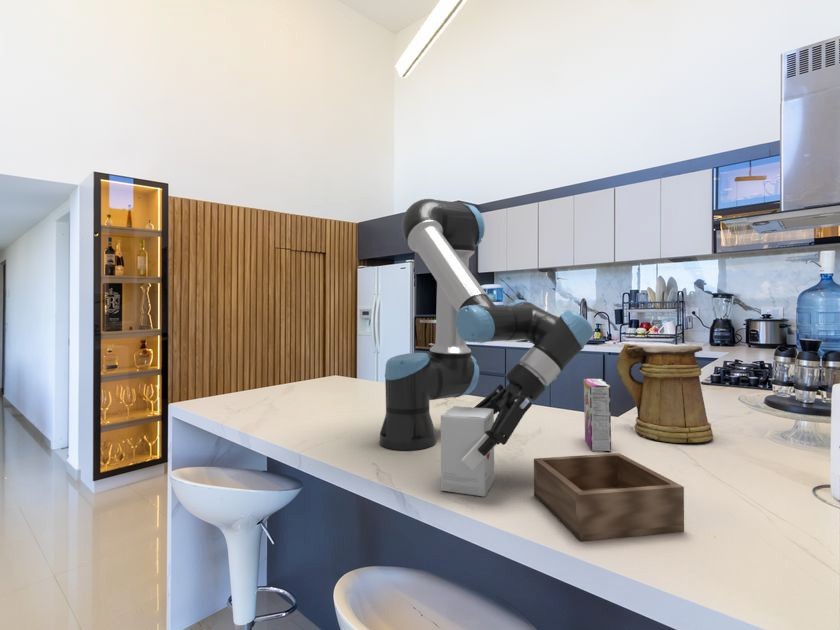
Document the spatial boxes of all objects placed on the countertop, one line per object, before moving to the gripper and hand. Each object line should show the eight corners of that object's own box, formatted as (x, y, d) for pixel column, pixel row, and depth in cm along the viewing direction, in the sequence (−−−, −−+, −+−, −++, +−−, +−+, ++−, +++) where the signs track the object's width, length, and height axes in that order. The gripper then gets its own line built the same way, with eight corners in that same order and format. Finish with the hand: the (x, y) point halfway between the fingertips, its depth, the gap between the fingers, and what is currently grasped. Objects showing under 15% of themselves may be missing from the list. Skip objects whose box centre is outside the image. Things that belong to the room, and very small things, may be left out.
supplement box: (485, 498, 86) (484, 417, 86) (439, 491, 89) (439, 414, 89) (495, 481, 94) (495, 408, 94) (453, 475, 97) (452, 405, 97)
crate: (580, 541, 69) (579, 494, 69) (534, 495, 86) (533, 458, 86) (684, 531, 72) (683, 486, 72) (619, 489, 89) (619, 453, 89)
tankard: (714, 449, 114) (713, 348, 113) (612, 436, 126) (611, 345, 126) (712, 432, 129) (711, 343, 129) (621, 422, 141) (621, 341, 141)
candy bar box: (583, 439, 124) (582, 378, 124) (603, 440, 123) (602, 378, 123) (590, 451, 113) (589, 384, 113) (611, 452, 112) (611, 385, 112)
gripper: (572, 398, 82) (490, 490, 80) (522, 379, 106) (458, 449, 103) (544, 369, 81) (460, 461, 79) (500, 356, 105) (434, 427, 103)
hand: (459, 454), depth 91 cm, fingers closed on supplement box, 12 cm apart
